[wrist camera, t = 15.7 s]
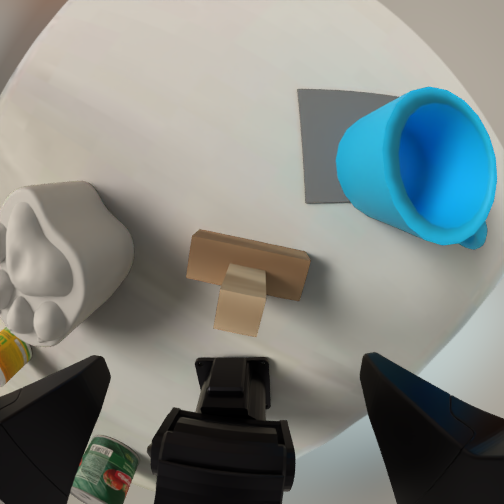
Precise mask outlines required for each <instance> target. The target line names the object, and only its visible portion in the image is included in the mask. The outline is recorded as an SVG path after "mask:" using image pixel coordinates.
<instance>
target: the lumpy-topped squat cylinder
mask: <svg viewBox="0 0 504 504" xmlns="http://www.w3.org/2000/svg"><path fill="white" fill-rule="evenodd" d="M133 259H134V244H133V240H132V237H131V235H130V233H129V231H128V230H127V228H126V227H125V226H124V225H123V224H122V223H121V222H120V221H119V220H118V219H116V218H115V217H114V216H113V215H112V214H111V213H110V212H109V211H108V209H107V208H106V207H105V205H104V204H103V202H102V200H101V198H100V196H99V195H98V193H97V192H96V190H95V189H94V188H93V186H92V185H90V184H89V183H87V182H85V181H71V182H59V183H49V184H40V185H31V186H25V187H21V188H18V189H16V190H15V191H13V192H12V193H11V194H10V195H9V196H8V197H7V199H6V200H5V202H4V204H3V206H2V208H1V210H0V318H1V320H2V321H3V323H4V324H5V326H6V327H7V328H8V329H9V330H10V331H11V332H12V333H13V334H14V335H15V336H16V337H18V338H19V339H21V340H22V341H24V342H26V343H27V344H30V345H33V346H39V347H51V346H55V345H57V344H58V343H60V342H61V341H62V340H63V339H64V338H65V337H67V336H68V335H69V334H70V333H71V332H72V331H73V330H74V329H75V328H76V327H77V326H79V325H80V324H81V323H82V322H83V321H84V320H85V319H86V318H87V317H89V316H90V315H91V314H92V313H93V312H94V311H95V310H96V309H98V308H99V307H100V306H101V305H102V304H103V303H104V302H105V301H106V300H107V299H108V298H109V297H110V296H111V295H112V294H113V293H114V292H115V291H116V290H117V288H118V287H119V286H120V284H121V283H122V281H123V280H124V279H125V277H126V276H127V274H128V273H129V271H130V269H131V266H132V263H133Z"/></svg>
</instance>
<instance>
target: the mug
mask: <svg viewBox="0 0 504 504" xmlns="http://www.w3.org/2000/svg"><path fill="white" fill-rule="evenodd" d="M336 167H337V177H338V180H339V182H340V185H341V187H342V190H343V192H344V194H345V195H346V197H347V198H348V199H349V200H350V202H351V203H352V204H353V206H354V207H355V208H357V209H358V210H360V211H361V212H363V213H364V214H366V215H367V216H369V217H371V218H374V219H376V220H379V221H381V222H384V223H386V224H389V225H391V226H394V227H396V228H398V229H401V230H403V231H405V232H408V233H410V234H412V235H415V236H417V237H419V238H422V239H424V240H427V241H430V242H433V243H436V244H440V245H450V244H457V243H458V244H460V245H462V246H463V247H465V248H469V249H473V250H475V249H477V248H480V247H481V246H483V244H484V243H485V240H486V236H487V225H486V221H485V220H486V219H487V216H488V214H489V212H490V209H491V207H492V204H493V202H494V197H495V191H496V184H497V170H496V157H495V154H494V150H493V147H492V143H491V140H490V137H489V134H488V133H487V131H486V129H485V127H484V125H483V123H482V122H481V120H480V118H479V116H478V115H477V114H476V113H475V112H474V111H473V110H472V108H471V107H470V106H469V105H468V104H467V103H466V102H465V101H464V100H462V99H461V98H459V97H458V96H456V95H454V94H453V93H451V92H449V91H448V90H444V89H439V88H433V87H425V88H421V89H417V90H413V91H410V92H408V93H406V94H404V95H402V96H401V97H399V98H397V99H395V100H393V101H391V102H389V103H388V104H386V105H384V106H382V107H380V108H378V109H377V110H375V111H373V112H371V113H370V114H368V115H366V116H364V117H362V118H361V119H359V120H358V121H356V122H355V123H354V124H353V125H352V126H350V127H349V128H348V129H347V130H346V132H345V134H344V135H343V137H342V139H341V141H340V142H339V146H338V151H337V156H336Z"/></svg>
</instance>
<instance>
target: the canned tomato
mask: <svg viewBox="0 0 504 504" xmlns="http://www.w3.org/2000/svg"><path fill="white" fill-rule="evenodd" d="M139 461H140V460H139V457H138V456H137V454H136V453H135V452H134V451H133V450H132V449H130V448H129V447H128V446H126V445H124V444H123V443H121V442H119V441H117V440H115V439H113V438H110V437H107V436H103V435H96V436H94V437H93V439H92V441H91V443H90V444H89V446H88V448H87V450H86V452H85V454H84V455H83V457H82V460H81V462H80V465H79V468H78V471H77V474H76V477H75V479H74V482H73V485H72V488H71V491H70V493H71V494H72V495H73V496H74V497H76V498H77V499H78V500H80V501H82V502H83V503H85V504H123V503H124V500H125V497H126V494H127V492H128V489H129V487H130V484H131V482H132V479H133V476H134V474H135V471H136V469H137V466H138V464H139Z"/></svg>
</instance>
